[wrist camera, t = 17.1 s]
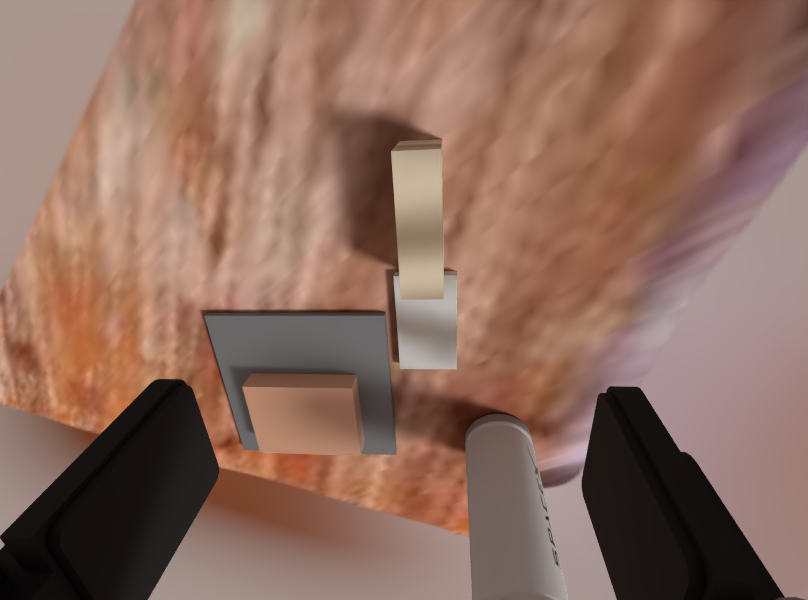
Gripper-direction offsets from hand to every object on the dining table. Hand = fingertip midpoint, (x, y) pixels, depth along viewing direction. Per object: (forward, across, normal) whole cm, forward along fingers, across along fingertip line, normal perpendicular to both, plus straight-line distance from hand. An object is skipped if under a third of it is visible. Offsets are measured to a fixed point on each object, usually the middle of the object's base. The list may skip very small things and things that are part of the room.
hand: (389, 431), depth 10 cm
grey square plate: (+24, +12, +18) cm, 33 cm away
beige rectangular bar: (+24, 0, +5) cm, 25 cm away
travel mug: (+24, -6, +24) cm, 35 cm away
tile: (+23, +12, +16) cm, 30 cm away
